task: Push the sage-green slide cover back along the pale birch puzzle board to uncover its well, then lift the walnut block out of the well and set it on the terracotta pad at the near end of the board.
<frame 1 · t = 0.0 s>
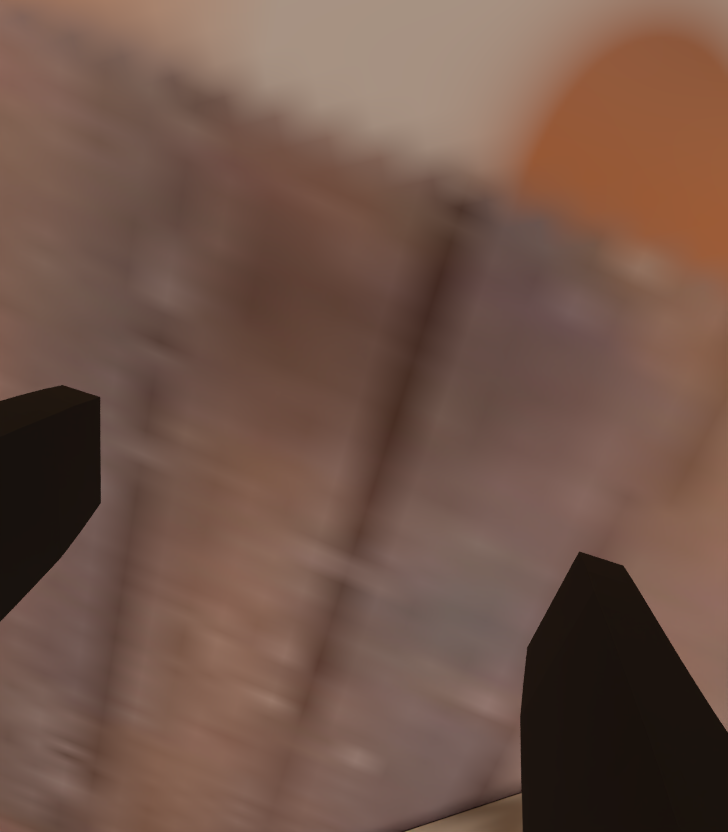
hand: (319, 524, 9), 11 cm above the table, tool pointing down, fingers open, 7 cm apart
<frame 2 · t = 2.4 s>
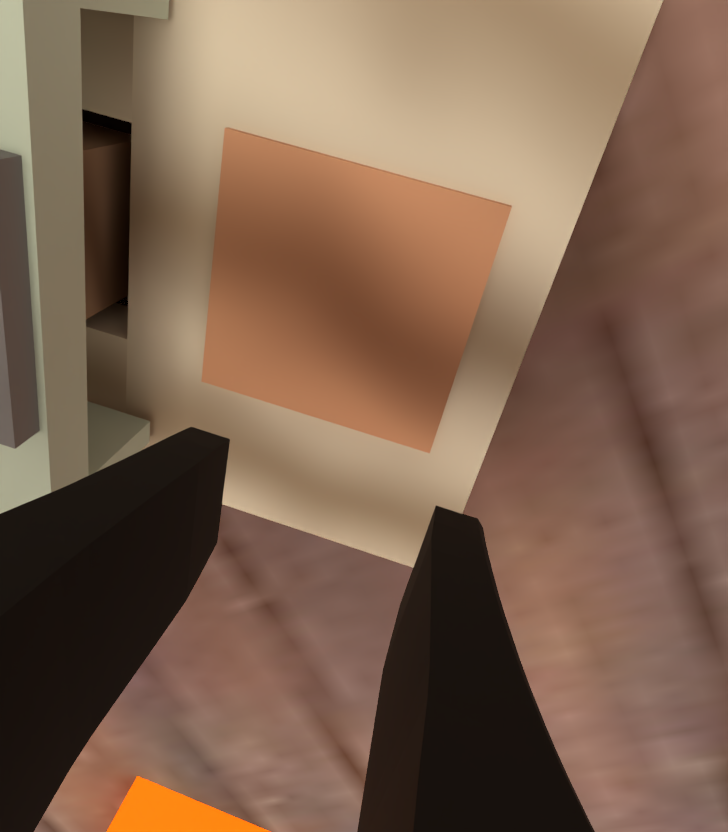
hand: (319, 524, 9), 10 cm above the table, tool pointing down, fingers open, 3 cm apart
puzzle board: (104, 207, 19), on the table
walnut block: (76, 197, 19), resting in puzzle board
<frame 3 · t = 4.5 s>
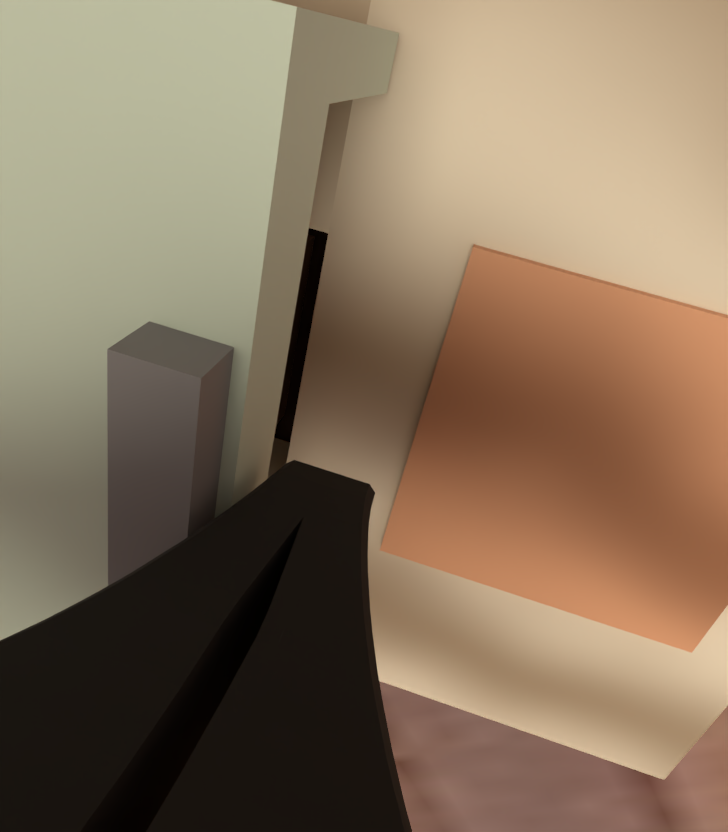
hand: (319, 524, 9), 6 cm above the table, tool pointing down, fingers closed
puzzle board: (246, 317, 15), on the table
slide cover: (47, 397, 10), point 5 cm above the table, slide at 0.4 cm, touching gripper
walnut block: (209, 303, 15), resting in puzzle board
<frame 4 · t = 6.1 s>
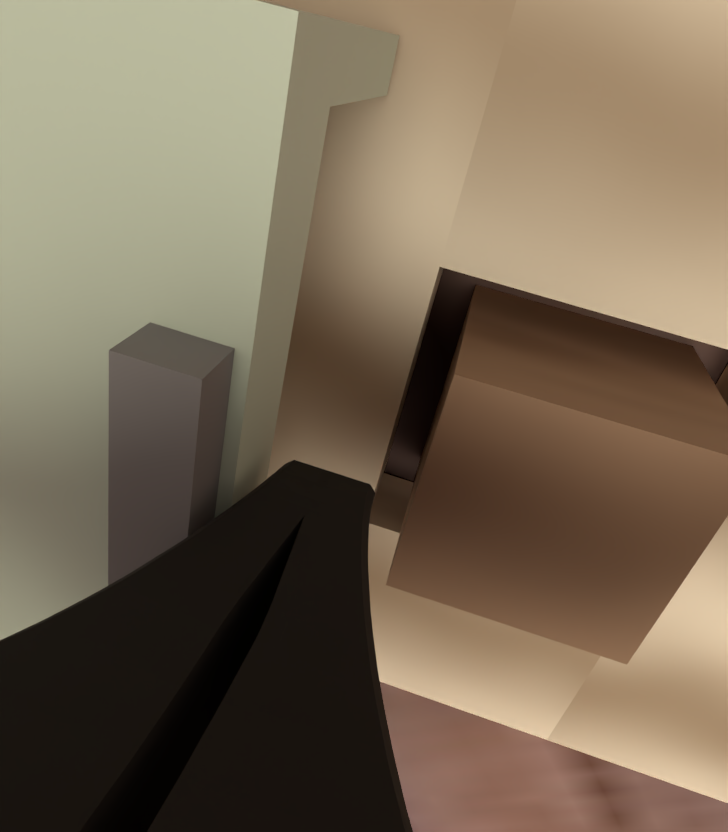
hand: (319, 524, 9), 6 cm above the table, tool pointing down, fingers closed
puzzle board: (587, 421, 14), on the table
slide cover: (48, 397, 10), point 5 cm above the table, slide at 8.5 cm, touching gripper
walnut block: (543, 405, 14), resting in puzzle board
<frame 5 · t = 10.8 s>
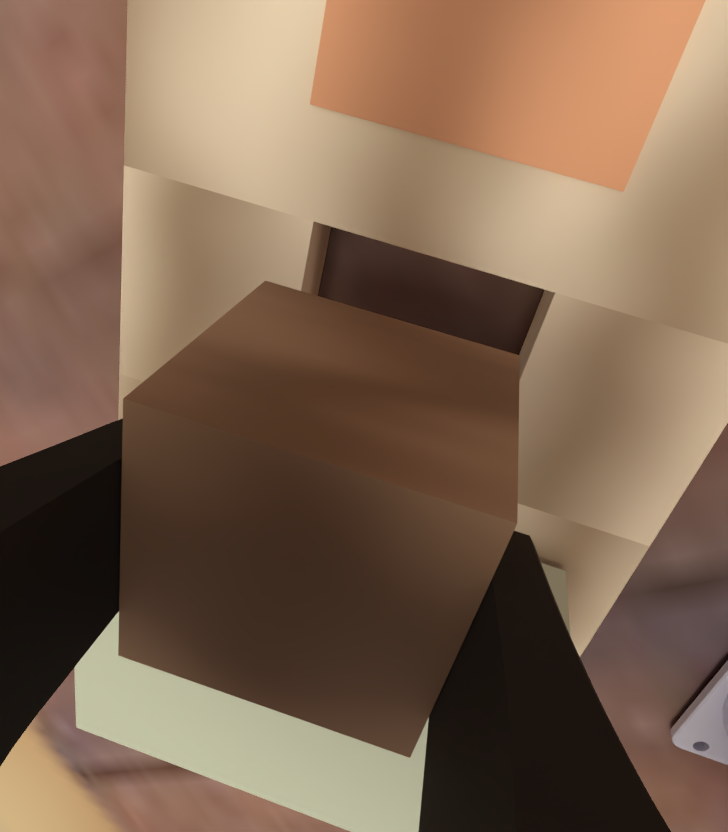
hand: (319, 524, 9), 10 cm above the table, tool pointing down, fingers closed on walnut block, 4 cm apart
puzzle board: (422, 306, 18), on the table
slide cover: (309, 662, 18), point 5 cm above the table, slide at 8.5 cm
walnut block: (362, 426, 12), point 7 cm above the table, touching gripper
when the fingers open (6 cm above the table, at t = 12.3 s): walnut block drops 1 cm, resting on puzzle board.
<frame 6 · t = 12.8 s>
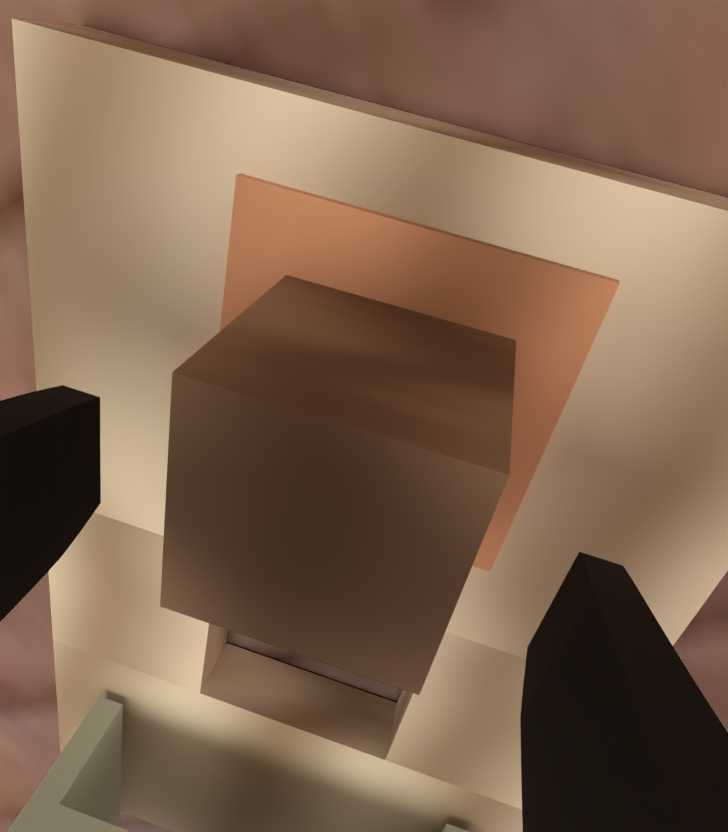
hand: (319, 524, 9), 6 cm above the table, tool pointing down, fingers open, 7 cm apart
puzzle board: (333, 589, 19), on the table
walnut block: (374, 407, 13), point 2 cm above the table, touching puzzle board
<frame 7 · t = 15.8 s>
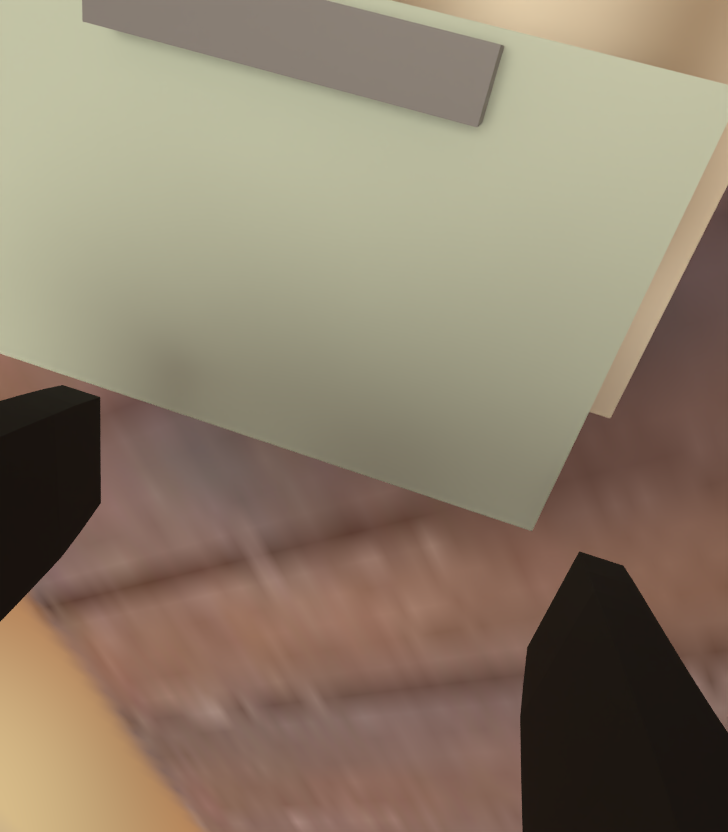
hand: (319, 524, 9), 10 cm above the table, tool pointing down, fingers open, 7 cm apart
slide cover: (304, 225, 13), point 5 cm above the table, slide at 8.5 cm
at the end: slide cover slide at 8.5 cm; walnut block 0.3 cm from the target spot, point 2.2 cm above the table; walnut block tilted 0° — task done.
